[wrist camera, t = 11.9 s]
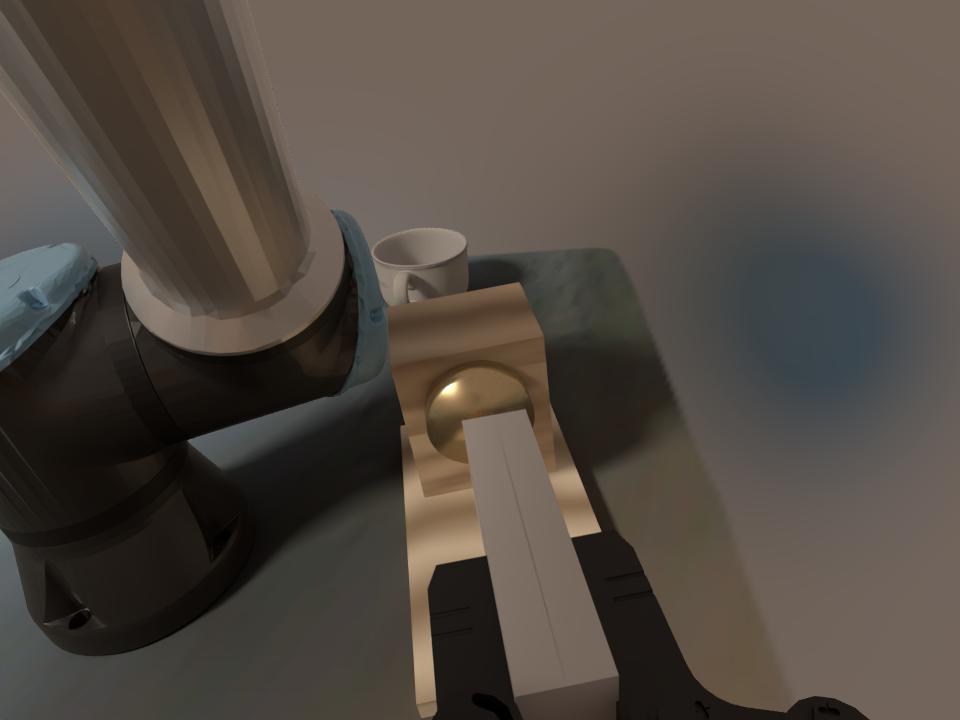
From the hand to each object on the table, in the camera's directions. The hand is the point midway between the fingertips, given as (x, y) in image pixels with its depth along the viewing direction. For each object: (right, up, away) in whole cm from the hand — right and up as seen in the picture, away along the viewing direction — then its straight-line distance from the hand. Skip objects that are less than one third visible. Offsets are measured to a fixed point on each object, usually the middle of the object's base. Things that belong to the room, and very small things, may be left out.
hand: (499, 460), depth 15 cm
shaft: (-1, -1, +32) cm, 32 cm away
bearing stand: (+1, -10, +29) cm, 31 cm away
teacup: (-7, +8, +58) cm, 59 cm away
